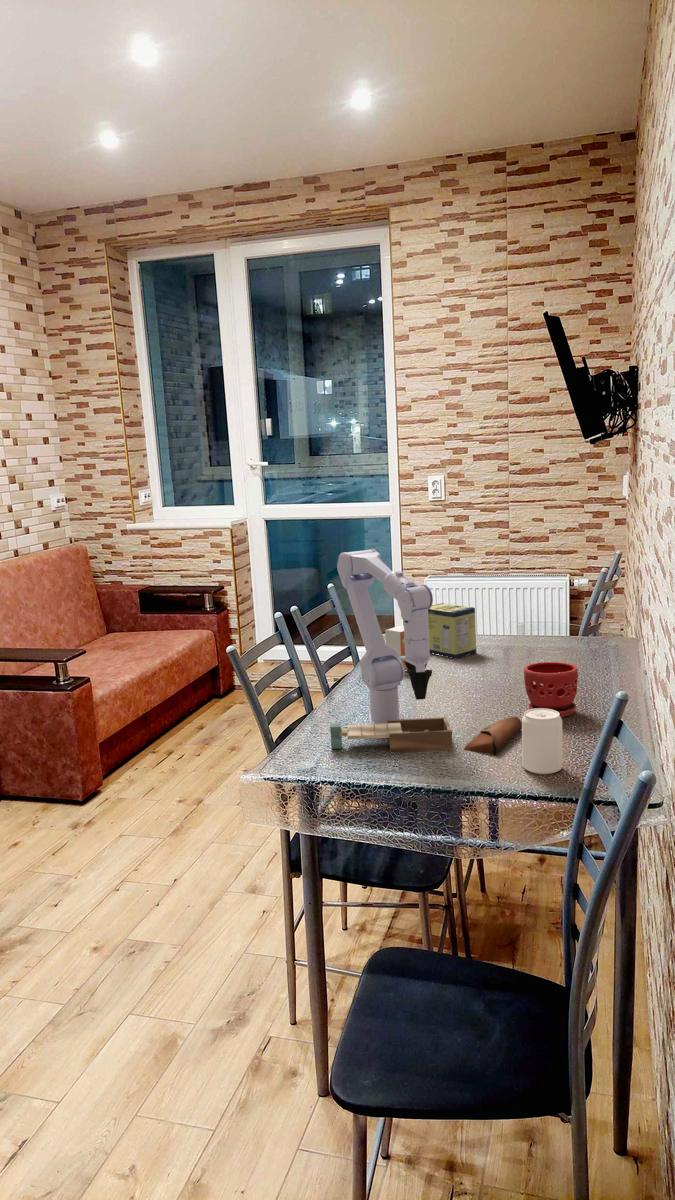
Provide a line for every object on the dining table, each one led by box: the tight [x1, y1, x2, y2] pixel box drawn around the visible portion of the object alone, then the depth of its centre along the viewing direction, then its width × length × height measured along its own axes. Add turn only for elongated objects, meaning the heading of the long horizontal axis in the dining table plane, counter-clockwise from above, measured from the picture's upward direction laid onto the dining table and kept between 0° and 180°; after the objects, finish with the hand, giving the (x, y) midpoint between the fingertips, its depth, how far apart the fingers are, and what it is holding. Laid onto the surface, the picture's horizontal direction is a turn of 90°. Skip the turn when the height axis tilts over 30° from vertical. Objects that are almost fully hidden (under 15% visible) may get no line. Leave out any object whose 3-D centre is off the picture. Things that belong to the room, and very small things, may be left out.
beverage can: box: [521, 708, 563, 775], centre depth 166 cm, size 8×8×12 cm
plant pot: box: [523, 661, 579, 718], centre depth 202 cm, size 13×13×12 cm
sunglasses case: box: [463, 716, 522, 756], centre depth 185 cm, size 18×7×7 cm, turn 150°
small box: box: [384, 624, 408, 670], centre depth 250 cm, size 8×6×13 cm
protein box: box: [428, 602, 477, 659], centre depth 268 cm, size 10×16×16 cm
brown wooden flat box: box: [387, 716, 453, 754], centre depth 185 cm, size 10×14×4 cm
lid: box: [329, 722, 402, 750], centre depth 185 cm, size 8×16×5 cm, turn 90°
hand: (418, 694), depth 188 cm, fingers open, 7 cm apart
